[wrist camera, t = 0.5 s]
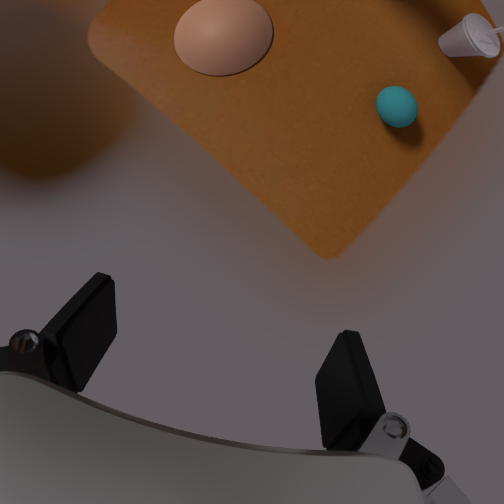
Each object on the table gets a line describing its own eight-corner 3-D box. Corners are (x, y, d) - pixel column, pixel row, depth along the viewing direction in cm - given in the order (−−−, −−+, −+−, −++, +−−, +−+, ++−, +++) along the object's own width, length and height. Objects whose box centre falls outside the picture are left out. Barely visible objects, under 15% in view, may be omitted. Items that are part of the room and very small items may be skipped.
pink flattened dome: (199, -13, 25) (198, -13, 25) (287, 11, 27) (288, 10, 27) (159, 61, 30) (158, 61, 30) (248, 89, 32) (248, 88, 32)
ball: (378, 81, 30) (395, 74, 25) (411, 102, 31) (430, 100, 26) (363, 114, 32) (378, 112, 27) (397, 134, 33) (415, 136, 28)
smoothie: (468, 56, 26) (526, 46, 13) (448, 71, 27) (508, 60, 15) (445, 23, 24) (498, 1, 11) (423, 35, 26) (477, 11, 13)
